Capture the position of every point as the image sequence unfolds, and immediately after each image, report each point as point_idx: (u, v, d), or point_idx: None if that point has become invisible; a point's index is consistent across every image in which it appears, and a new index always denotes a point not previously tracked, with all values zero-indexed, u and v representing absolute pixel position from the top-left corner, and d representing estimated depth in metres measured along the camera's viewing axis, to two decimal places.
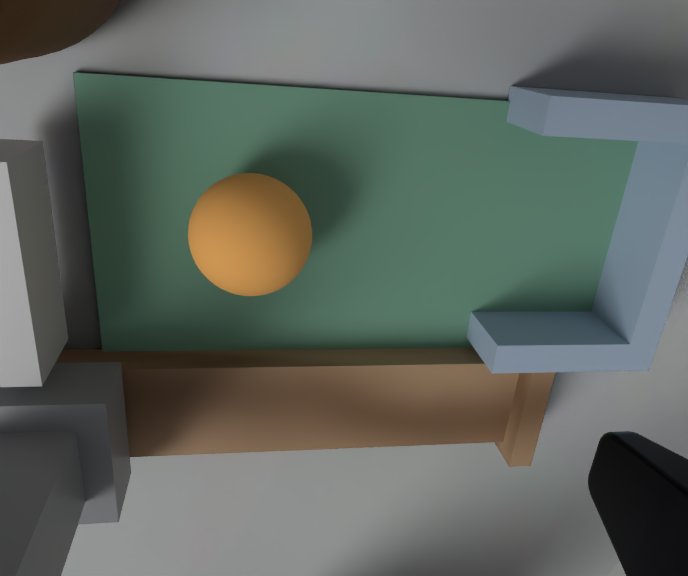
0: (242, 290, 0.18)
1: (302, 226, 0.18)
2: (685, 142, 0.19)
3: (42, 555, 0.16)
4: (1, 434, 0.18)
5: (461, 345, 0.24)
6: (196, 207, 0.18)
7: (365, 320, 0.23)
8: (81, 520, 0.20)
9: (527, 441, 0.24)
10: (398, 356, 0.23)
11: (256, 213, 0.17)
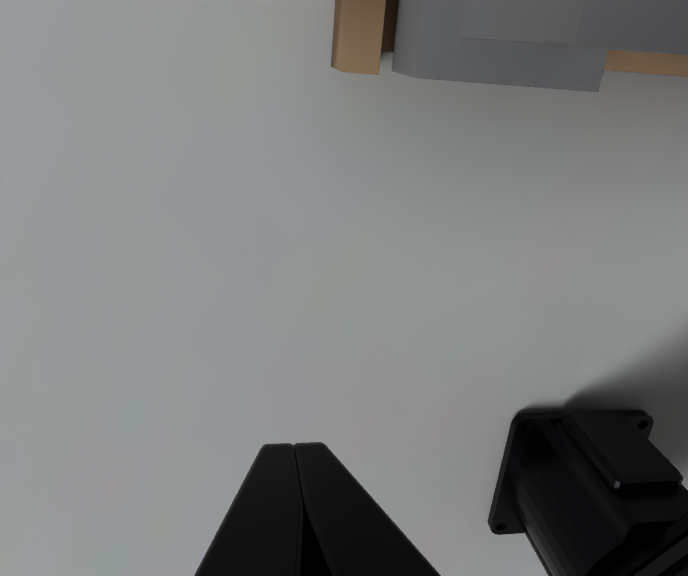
0: None
1: None
2: None
3: None
4: None
5: None
6: None
7: None
8: (556, 81, 0.15)
9: None
10: None
11: None
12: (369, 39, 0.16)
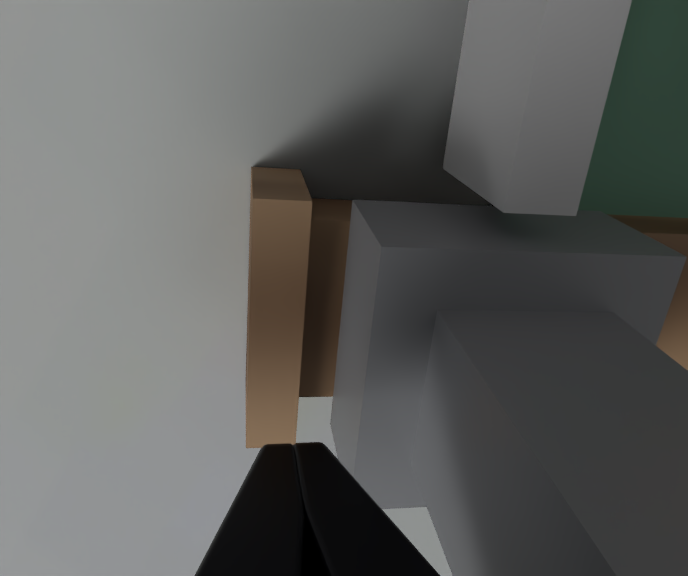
0: None
1: None
2: None
3: None
4: (490, 312, 0.09)
5: None
6: None
7: None
8: None
9: None
10: None
11: None
12: (280, 412, 0.12)
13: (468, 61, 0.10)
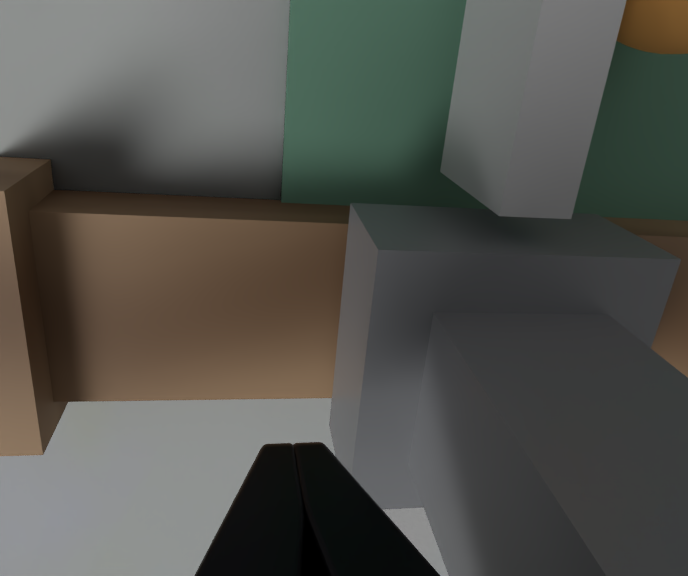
0: None
1: None
2: None
3: None
4: (486, 315, 0.09)
5: None
6: None
7: None
8: None
9: None
10: None
11: None
12: (17, 418, 0.11)
13: (465, 66, 0.10)
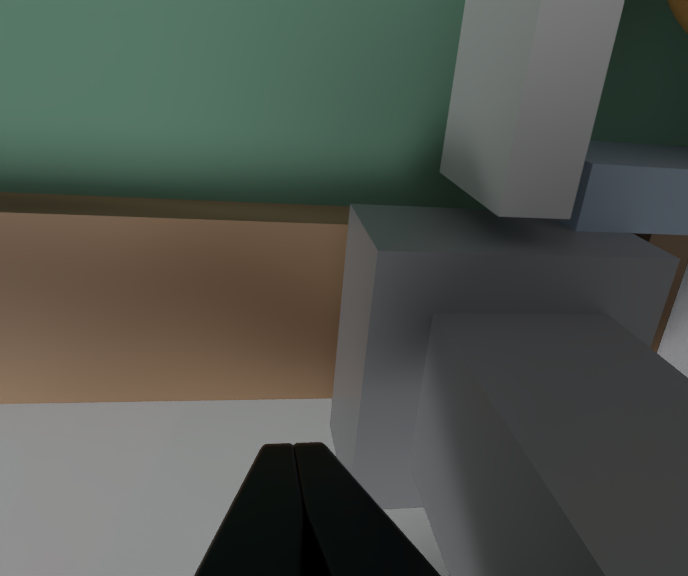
0: None
1: None
2: None
3: None
4: (486, 315, 0.09)
5: None
6: None
7: (316, 142, 0.12)
8: None
9: None
10: None
11: None
12: None
13: (464, 67, 0.10)
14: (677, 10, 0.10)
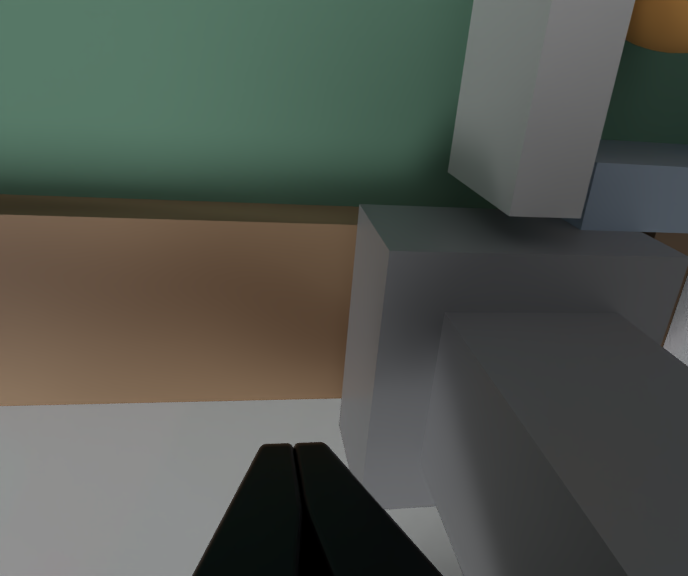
0: None
1: None
2: None
3: None
4: (497, 314, 0.09)
5: None
6: None
7: (319, 142, 0.12)
8: None
9: None
10: None
11: None
12: None
13: (472, 67, 0.10)
14: None
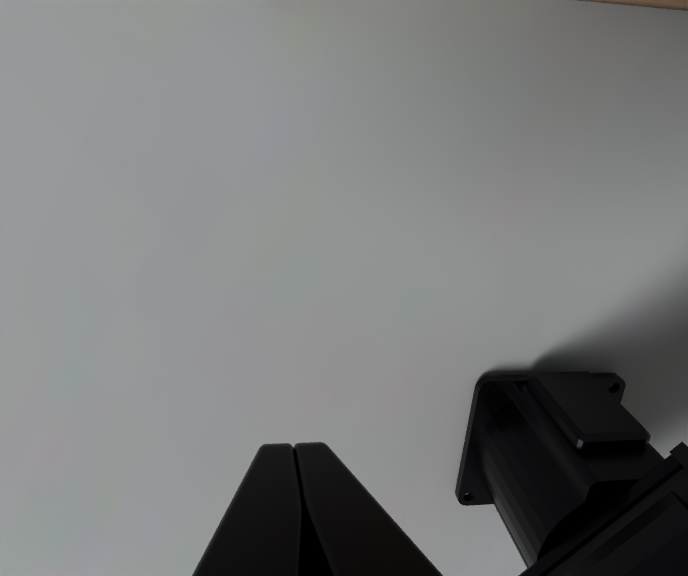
0: None
1: None
2: None
3: None
4: None
5: None
6: None
7: None
8: None
9: None
10: None
11: None
12: None
13: None
14: None
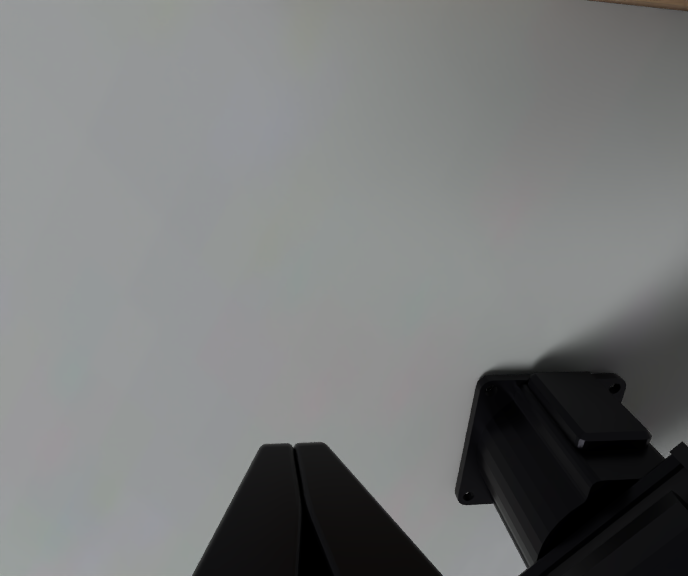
0: None
1: None
2: None
3: None
4: None
5: None
6: None
7: None
8: None
9: None
10: None
11: None
12: None
13: None
14: None
